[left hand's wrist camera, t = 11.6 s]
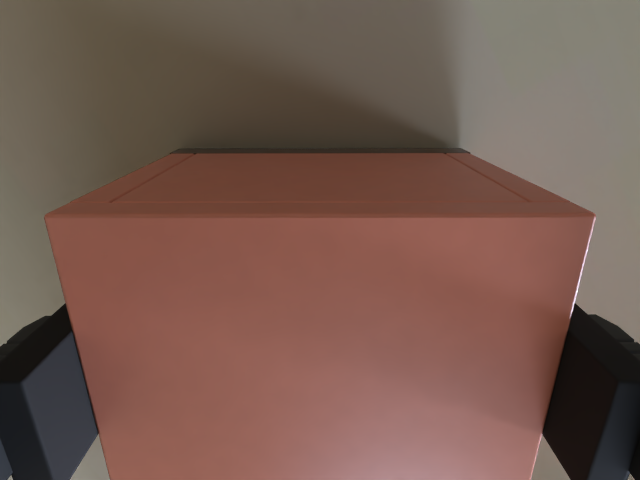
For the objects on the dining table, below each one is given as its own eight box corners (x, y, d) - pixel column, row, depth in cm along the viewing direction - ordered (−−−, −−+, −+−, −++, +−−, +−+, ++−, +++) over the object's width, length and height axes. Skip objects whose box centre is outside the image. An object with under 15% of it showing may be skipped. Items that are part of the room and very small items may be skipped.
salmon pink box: (415, 534, 22) (462, 759, 14) (226, 534, 22) (179, 759, 14) (460, 148, 15) (599, 212, 7) (179, 148, 15) (40, 214, 7)
